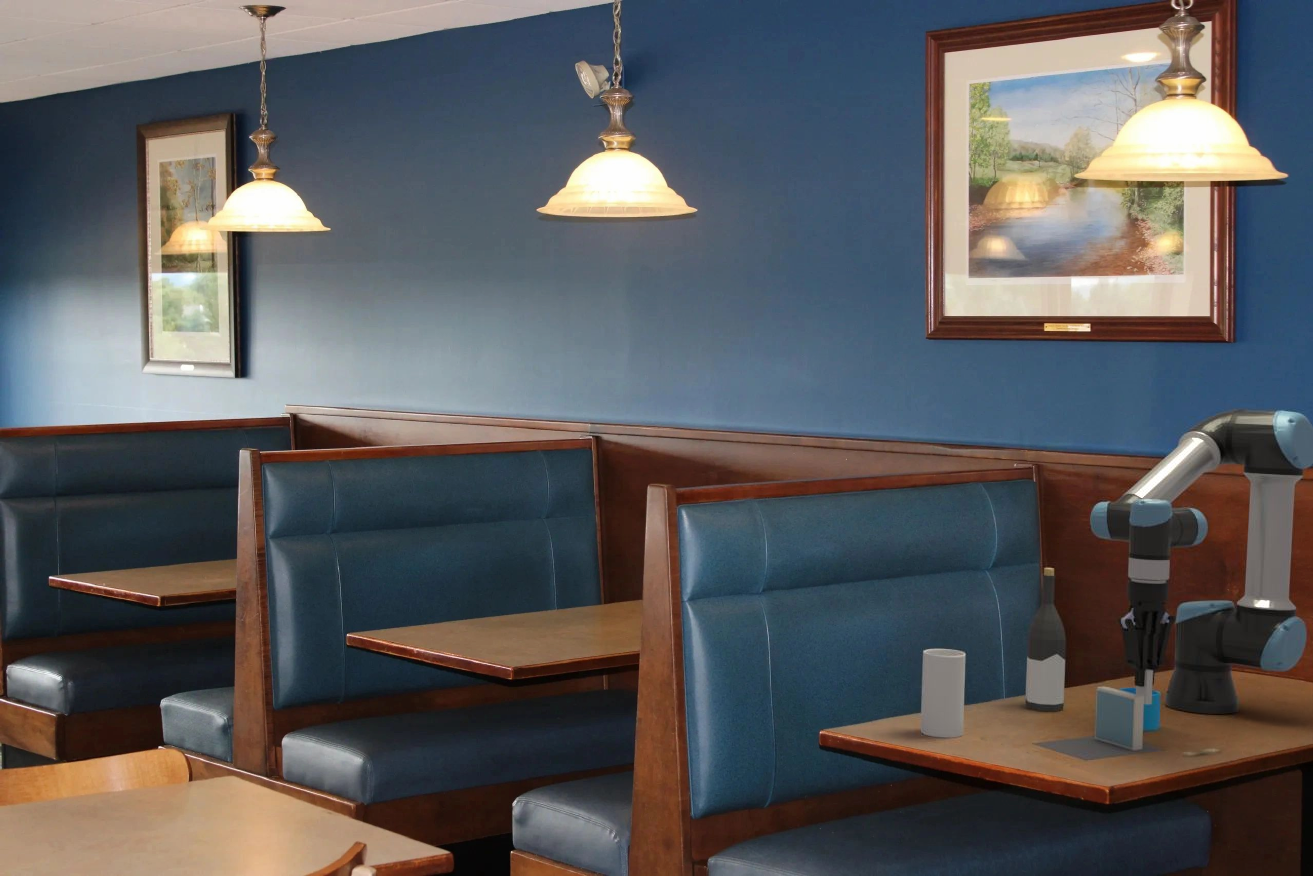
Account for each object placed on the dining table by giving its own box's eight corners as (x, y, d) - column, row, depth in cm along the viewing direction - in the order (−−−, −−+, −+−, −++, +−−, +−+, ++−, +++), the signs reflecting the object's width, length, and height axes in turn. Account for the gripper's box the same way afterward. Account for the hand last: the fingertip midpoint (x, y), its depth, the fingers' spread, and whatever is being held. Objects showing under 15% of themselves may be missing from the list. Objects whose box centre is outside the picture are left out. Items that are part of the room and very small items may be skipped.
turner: (1204, 754, 295) (1204, 746, 295) (1229, 761, 290) (1229, 753, 290) (1141, 763, 288) (1142, 755, 288) (1166, 771, 282) (1167, 762, 282)
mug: (1168, 735, 311) (1169, 694, 311) (1134, 738, 308) (1136, 696, 308) (1128, 722, 322) (1130, 683, 322) (1096, 724, 319) (1097, 685, 319)
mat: (1109, 740, 306) (1109, 733, 306) (1164, 756, 293) (1164, 749, 293) (1031, 749, 296) (1032, 743, 296) (1085, 766, 284) (1085, 760, 284)
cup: (965, 730, 311) (968, 650, 310) (959, 739, 303) (962, 657, 302) (924, 726, 313) (926, 647, 313) (917, 735, 306) (919, 654, 305)
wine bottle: (1050, 703, 339) (1055, 565, 338) (1071, 711, 332) (1076, 570, 331) (1017, 704, 337) (1022, 566, 336) (1038, 712, 329) (1043, 571, 328)
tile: (1103, 737, 302) (1104, 686, 302) (1142, 749, 293) (1144, 696, 293) (1093, 739, 301) (1095, 687, 300) (1132, 750, 292) (1134, 697, 292)
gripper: (1157, 576, 305) (1153, 696, 306) (1108, 579, 299) (1104, 701, 300) (1187, 581, 299) (1182, 704, 300) (1138, 584, 292) (1133, 709, 293)
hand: (1143, 702), depth 300 cm, fingers closed
